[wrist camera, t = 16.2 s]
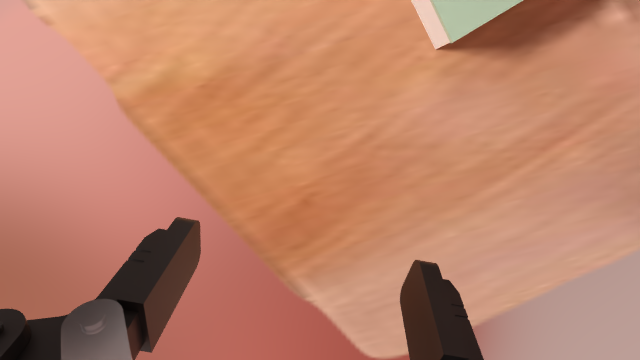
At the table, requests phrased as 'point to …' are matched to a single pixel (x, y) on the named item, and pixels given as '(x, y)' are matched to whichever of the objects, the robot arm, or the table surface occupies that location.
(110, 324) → the robot arm
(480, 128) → the table surface
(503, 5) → the raised stand
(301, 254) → the table surface
